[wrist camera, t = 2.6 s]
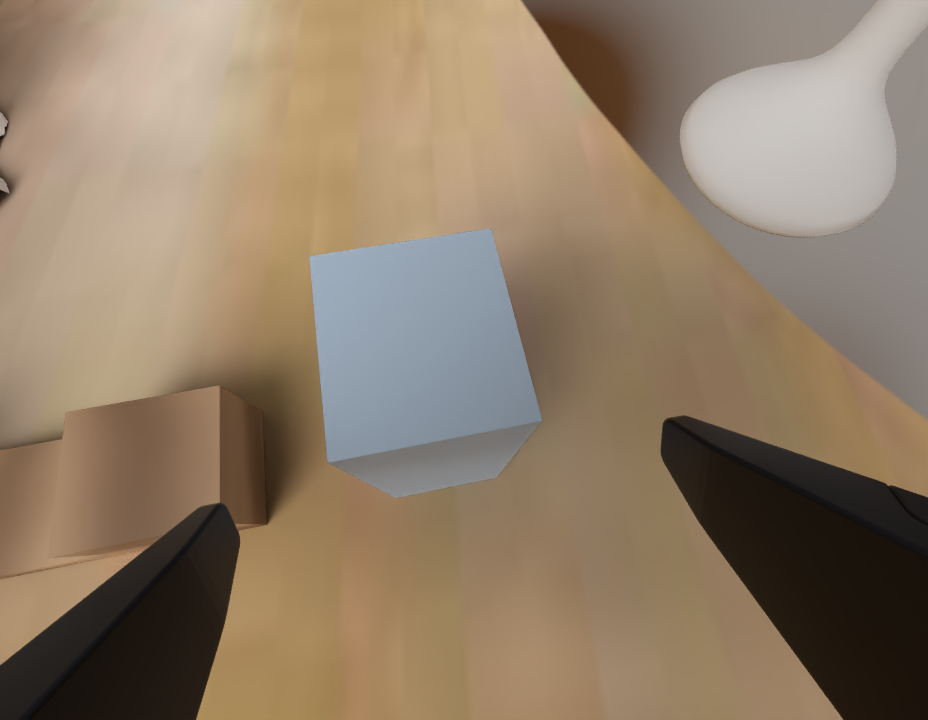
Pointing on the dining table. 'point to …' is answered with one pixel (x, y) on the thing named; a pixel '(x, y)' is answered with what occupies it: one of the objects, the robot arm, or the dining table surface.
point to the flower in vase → (805, 132)
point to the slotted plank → (129, 478)
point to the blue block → (420, 363)
